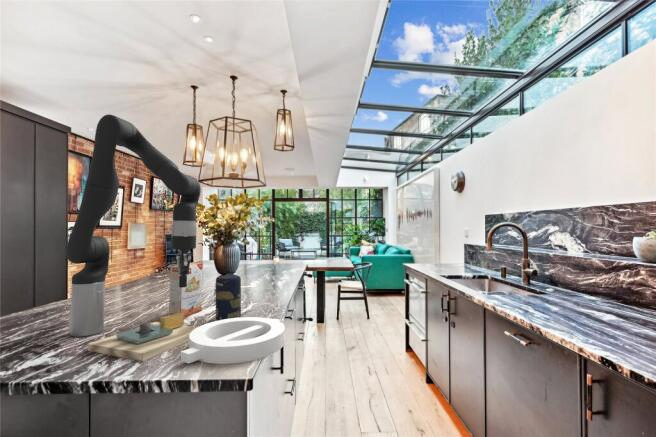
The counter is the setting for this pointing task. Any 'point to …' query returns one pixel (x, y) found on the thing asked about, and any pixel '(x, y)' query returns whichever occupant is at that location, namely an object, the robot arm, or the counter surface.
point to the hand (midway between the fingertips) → (182, 287)
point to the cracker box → (186, 290)
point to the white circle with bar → (235, 340)
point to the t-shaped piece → (154, 329)
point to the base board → (142, 349)
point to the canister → (228, 297)
